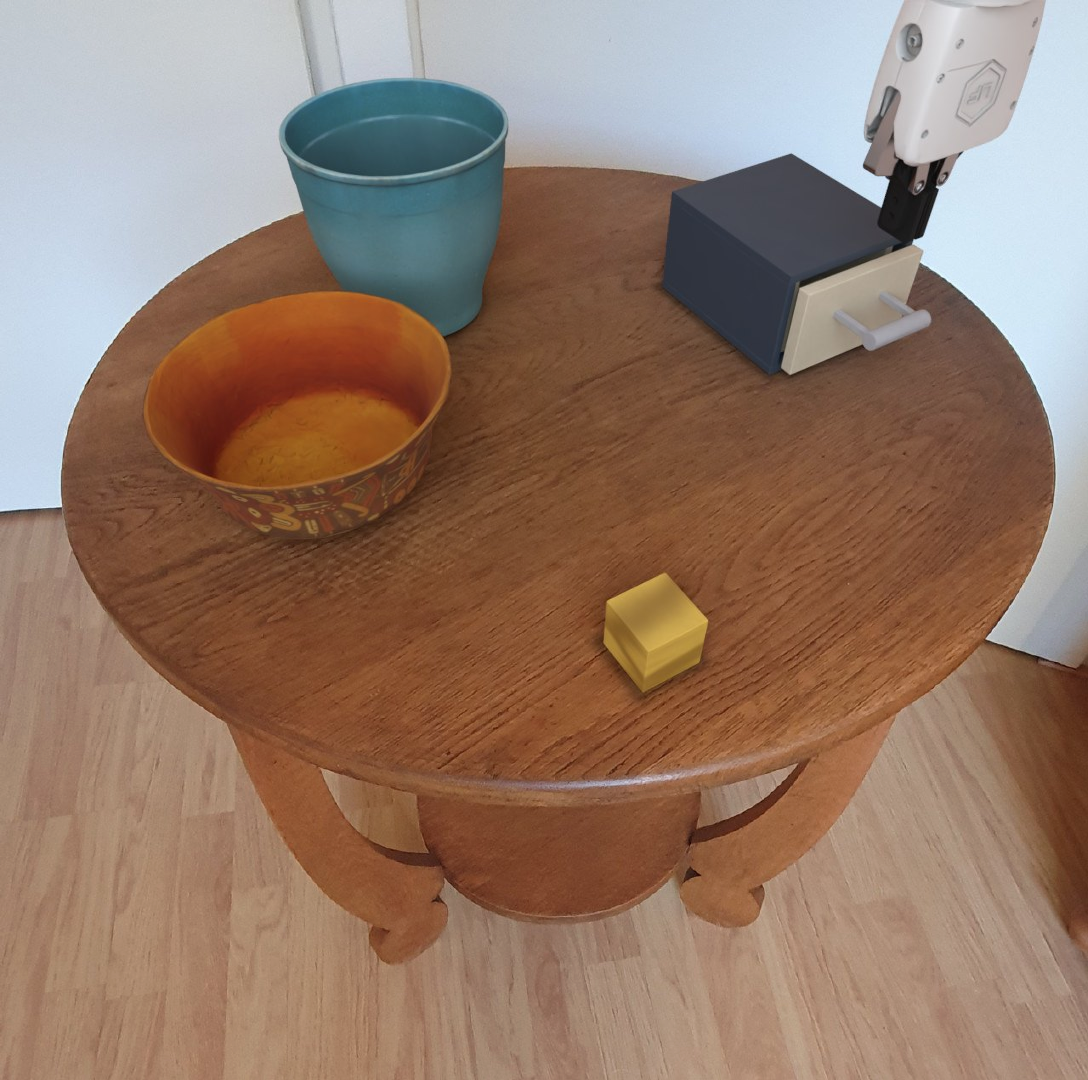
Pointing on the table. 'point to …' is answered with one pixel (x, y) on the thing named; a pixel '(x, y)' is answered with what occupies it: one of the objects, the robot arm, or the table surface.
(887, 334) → the drawer
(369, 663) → the table surface
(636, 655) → the block
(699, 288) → the cabinet
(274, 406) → the bowl
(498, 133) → the flower pot
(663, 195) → the table surface
